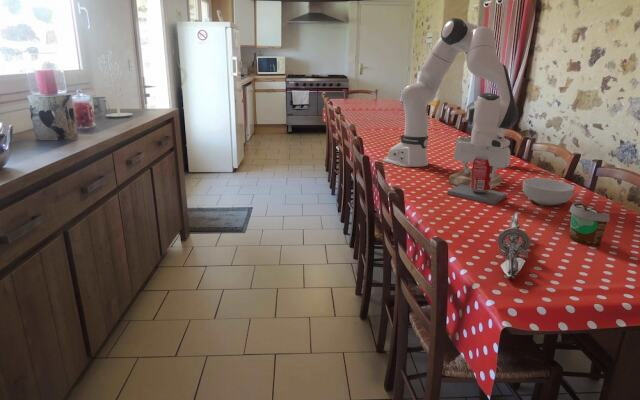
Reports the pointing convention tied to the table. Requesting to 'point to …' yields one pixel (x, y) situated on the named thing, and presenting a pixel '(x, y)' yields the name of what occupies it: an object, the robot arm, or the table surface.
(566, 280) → the table surface
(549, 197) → the cereal bowl
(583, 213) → the food container
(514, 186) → the table surface
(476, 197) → the charcoal board
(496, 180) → the wooden holder
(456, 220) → the table surface
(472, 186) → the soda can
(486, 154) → the robot arm
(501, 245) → the spaceship
